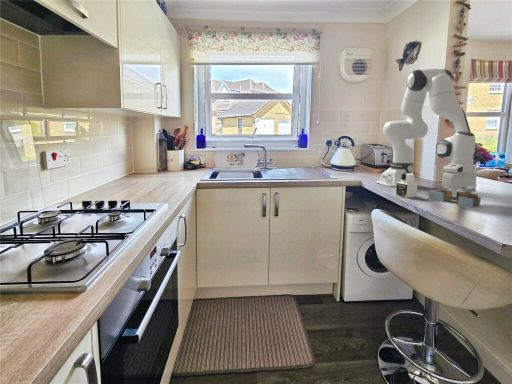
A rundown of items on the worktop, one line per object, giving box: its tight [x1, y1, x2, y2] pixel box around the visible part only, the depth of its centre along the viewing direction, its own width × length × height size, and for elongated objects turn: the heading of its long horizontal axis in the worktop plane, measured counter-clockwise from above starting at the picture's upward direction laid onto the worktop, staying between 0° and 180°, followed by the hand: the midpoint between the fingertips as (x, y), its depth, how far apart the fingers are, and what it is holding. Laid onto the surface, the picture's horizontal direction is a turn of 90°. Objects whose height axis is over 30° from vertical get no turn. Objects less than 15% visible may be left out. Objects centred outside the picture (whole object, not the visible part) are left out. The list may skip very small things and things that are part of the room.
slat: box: [439, 188, 479, 204], centre depth 157 cm, size 16×3×4 cm, turn 27°
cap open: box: [457, 196, 482, 208], centre depth 152 cm, size 6×6×4 cm
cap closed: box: [428, 189, 450, 202], centre depth 165 cm, size 8×6×4 cm
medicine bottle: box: [395, 172, 419, 199], centre depth 172 cm, size 7×7×12 cm
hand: (457, 196), depth 157 cm, fingers closed on slat, 3 cm apart
